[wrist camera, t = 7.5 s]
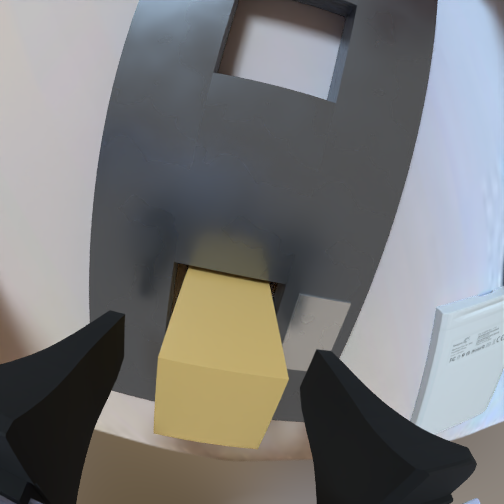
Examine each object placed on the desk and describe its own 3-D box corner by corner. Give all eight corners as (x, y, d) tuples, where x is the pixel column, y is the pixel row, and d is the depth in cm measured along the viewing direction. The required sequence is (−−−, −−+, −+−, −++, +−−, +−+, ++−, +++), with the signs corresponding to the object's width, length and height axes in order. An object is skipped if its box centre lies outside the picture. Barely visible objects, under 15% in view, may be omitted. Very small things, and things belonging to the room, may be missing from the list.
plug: (181, 320, 15) (153, 433, 9) (192, 257, 14) (158, 357, 7) (249, 333, 15) (257, 448, 9) (266, 272, 14) (288, 379, 8)
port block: (102, 368, 16) (94, 386, 15) (185, -73, 8) (180, -90, 7) (302, 404, 17) (306, 423, 16) (423, -7, 10) (439, -17, 8)
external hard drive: (403, 430, 20) (431, 301, 16) (479, 399, 20) (517, 275, 16) (410, 444, 19) (445, 315, 15) (487, 410, 19) (531, 285, 15)
